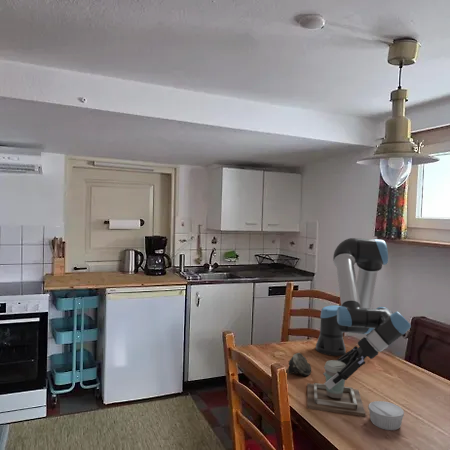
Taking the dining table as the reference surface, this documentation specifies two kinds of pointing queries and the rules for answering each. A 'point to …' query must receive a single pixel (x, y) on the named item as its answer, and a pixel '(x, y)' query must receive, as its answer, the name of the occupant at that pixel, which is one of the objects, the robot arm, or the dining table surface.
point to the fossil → (299, 365)
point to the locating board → (334, 400)
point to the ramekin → (385, 415)
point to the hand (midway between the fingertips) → (326, 381)
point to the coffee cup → (330, 371)
